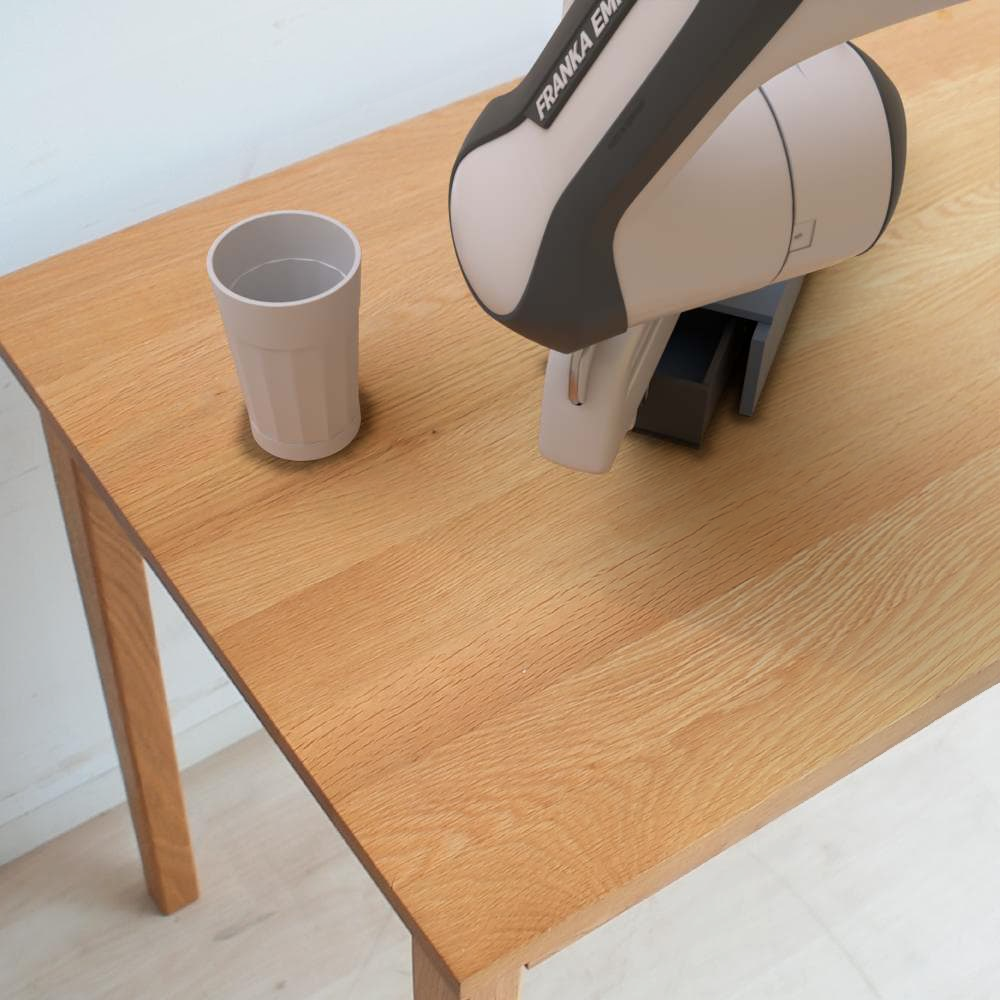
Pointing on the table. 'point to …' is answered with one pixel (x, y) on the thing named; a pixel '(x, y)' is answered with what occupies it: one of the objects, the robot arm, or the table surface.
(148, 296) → the table surface
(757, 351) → the cubby shelf
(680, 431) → the basket
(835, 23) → the robot arm
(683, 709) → the table surface
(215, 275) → the cup
